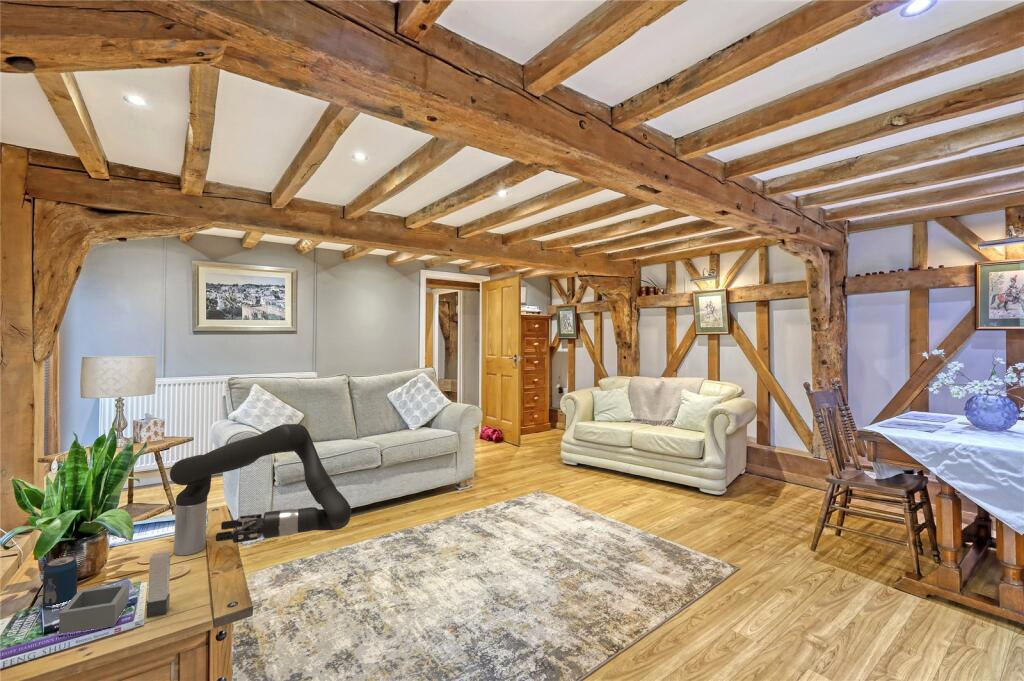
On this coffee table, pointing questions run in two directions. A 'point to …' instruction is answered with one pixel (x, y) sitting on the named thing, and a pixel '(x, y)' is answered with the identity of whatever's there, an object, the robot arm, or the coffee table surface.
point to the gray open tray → (94, 608)
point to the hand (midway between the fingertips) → (218, 531)
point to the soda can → (60, 580)
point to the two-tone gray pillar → (158, 585)
